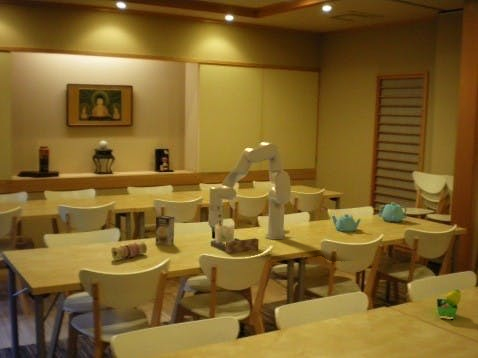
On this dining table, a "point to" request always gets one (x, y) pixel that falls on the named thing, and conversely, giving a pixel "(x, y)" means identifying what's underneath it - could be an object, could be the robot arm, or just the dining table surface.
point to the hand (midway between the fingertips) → (214, 238)
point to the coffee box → (164, 230)
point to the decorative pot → (392, 212)
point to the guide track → (238, 245)
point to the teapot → (345, 223)
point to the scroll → (128, 250)
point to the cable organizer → (224, 233)
